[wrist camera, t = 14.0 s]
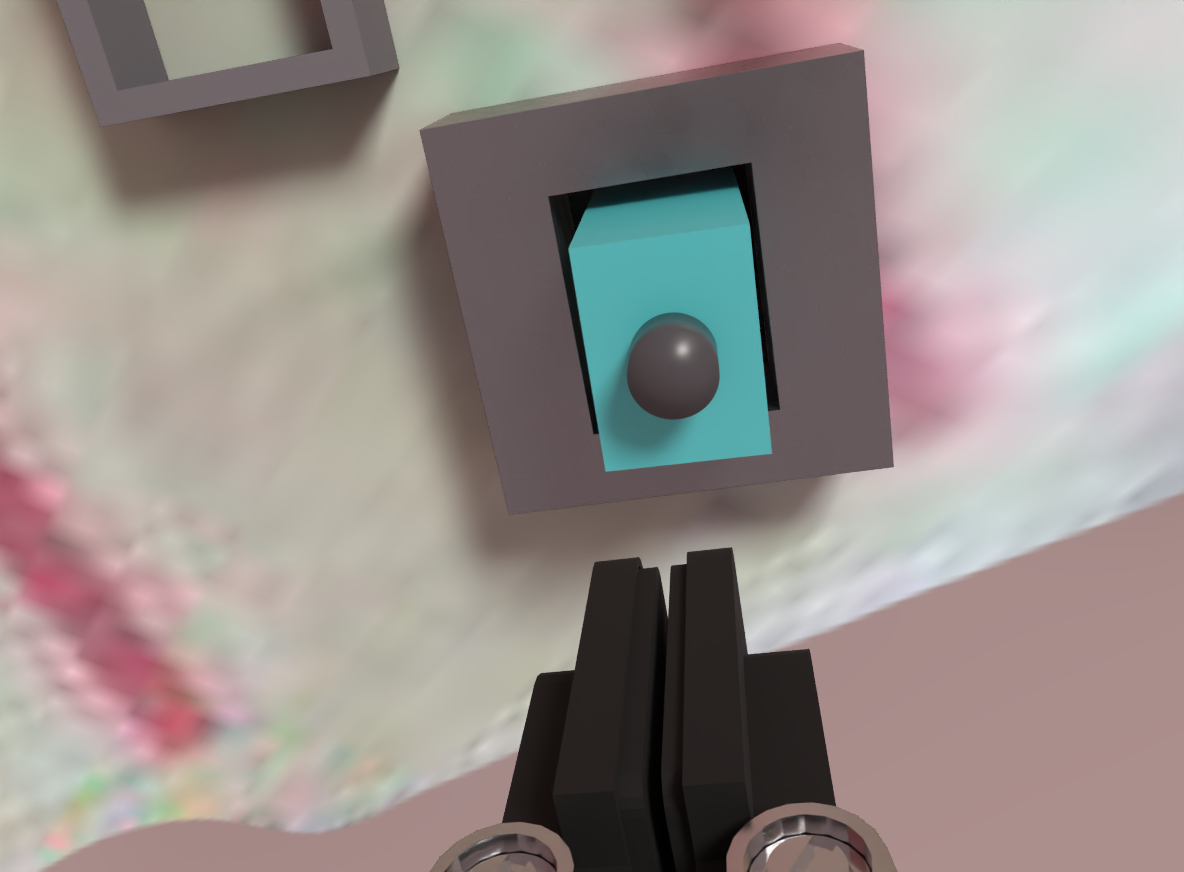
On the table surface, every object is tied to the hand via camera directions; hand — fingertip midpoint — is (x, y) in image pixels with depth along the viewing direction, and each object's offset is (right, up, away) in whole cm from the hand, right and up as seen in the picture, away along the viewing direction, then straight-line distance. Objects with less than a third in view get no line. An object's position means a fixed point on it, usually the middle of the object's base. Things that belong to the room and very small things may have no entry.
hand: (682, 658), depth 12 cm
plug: (+1, +8, +18) cm, 20 cm away
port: (+1, +8, +18) cm, 20 cm away
